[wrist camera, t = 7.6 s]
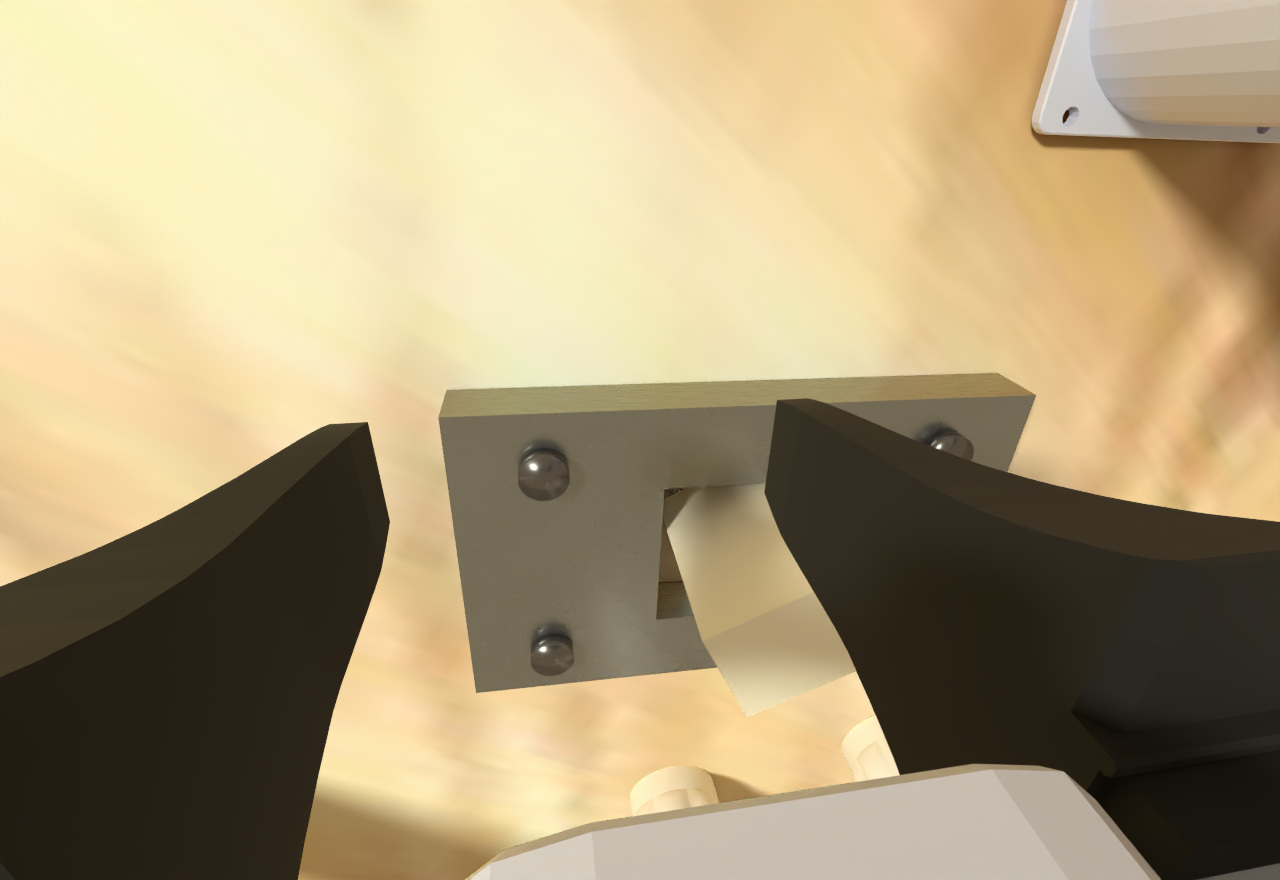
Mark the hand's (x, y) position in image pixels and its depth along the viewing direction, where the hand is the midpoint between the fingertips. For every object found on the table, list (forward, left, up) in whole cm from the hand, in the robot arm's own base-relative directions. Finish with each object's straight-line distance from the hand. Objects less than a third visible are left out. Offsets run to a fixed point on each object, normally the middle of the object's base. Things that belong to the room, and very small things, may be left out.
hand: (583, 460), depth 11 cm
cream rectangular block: (-6, +8, -10) cm, 14 cm away
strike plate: (-6, +9, -9) cm, 14 cm away
